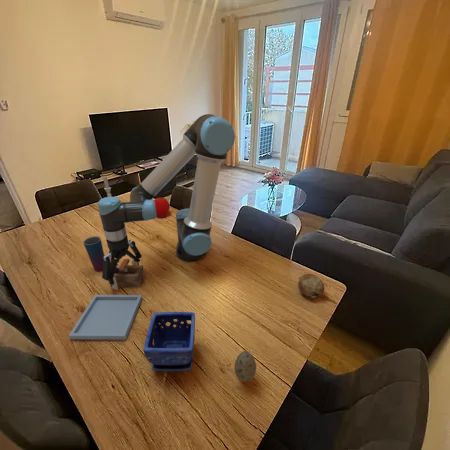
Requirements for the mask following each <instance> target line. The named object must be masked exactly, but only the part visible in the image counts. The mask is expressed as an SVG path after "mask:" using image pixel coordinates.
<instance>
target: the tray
mask: <svg viewBox="0 0 450 450" xmlns="http://www.w3.org/2000/svg"><path fill="white" fill-rule="evenodd" d="M142 302H143V295H141V294H94V295H93V297H92V298H91V300H90V302H89V303H88V305H87V306H86V308H85V309H84V311H83V313H82V314H81V315H80V317H79V318H78V320H77V321H76V324H75V325H74V327H73V328H72V329H71V331H70V333H69V334H68V337H69V340H70V341H126V340H127V338H128V336H129V333H130V331H131V329H132V326H133V323H134V321H135V319H136V317H137V314H138V311H139V309H140V306H141V304H142Z"/></svg>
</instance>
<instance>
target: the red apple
mask: <svg viewBox="0 0 450 450" xmlns="http://www.w3.org/2000/svg"><path fill="white" fill-rule="evenodd" d="M153 200H154V201H155V207H156V215H157V217H158V218H166V217H167V216H168V215H169V211H170V208H171V207H170V202H169V201H168V199H167V198H166V197H157V198H154V199H153ZM157 217H156V218H157Z"/></svg>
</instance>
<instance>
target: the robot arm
mask: <svg viewBox="0 0 450 450" xmlns="http://www.w3.org/2000/svg"><path fill="white" fill-rule="evenodd" d="M182 134H183V135H182V139H181V140H180V141H179V142H178V143H177V145H175V147H174V148H172V150H170V152H169V153H168V154H167V155H166V156H165V157H164V159H162V160H161V161H160V162H159V164H157V165H156V167H155V168H154V169H153V170H152V171H151V172H150V173H149V174H148V175H147V176H146V177H145V179H144V180H143V181H142V182H141V183H140V184H139V185H138V186H135V187H133V188H132V190H131V191H130V194H129V201H124V202H122V201H121V198H119V197H117V196H112V197H108V196H107V197H105V196H104V197H103V198H101V199H99V201H97V208H98V214H99V218H100V222H101V224H102V225H101V226H102V228H103V233H104V236H105V241H106V244H107V248H108V250H109V252H108V254H106V255H105V254H104V255H103V256H102V258H103V271H102V277H101V278H102V279H104V280H105V281H108V283H109V285H110V284H111V285H112V287H111V289H113V290H115V291H118V290H119V287H118V285H117V282H116V278H115V277H114V274H115V270H116V267H117V265H118V264H119V262H120V260H121V259H122V258H123V257H126V255H127V256H128V257H129V258H131V259H132V260H131V265H140V261H141V259H142V257H143V255H142V253H141V252H140V251H139V249H138V247H137V246H136V241H134V240H132V239H129V238H128V234H127V233H128V232H127V228H126V224H127V223H134V222H144V221H146V222H147V221H151V220H155V219H157V215H156V207H155V201H154V200H155V197H156V195H158V194H159V192H161V190H162V189H163V188H164V187H165V186H166V185H167V184H168V183H169V182H170V181H171V180H172V179H173V178H174V177H175V176H176V175H177V174H178V173H179V172H180V171H181V170H182V169H183V167H184V166H185V165H187V164H188V163H189V162H190V160H191V159H193V157H194V156H197V163H196V169H195V175H194V180H193V181H194V182H193V187H192V194H191V198H190V205H189V207H188V208H183V209H179V210H178V211H176V213H175V221H176V229H177V230H176V231H177V245H176V247H175V253H176V257H177V258H178V259H179V260H182V261H186V262H193V261H199V260H200V259H203V258H204V257H205V256H206V255H207V252H208V251H209V250H210V248H211V247H212V244H213V243H212V242H213V241H212V237H211V230H212V226H213V223H212V222H211V220H210V217H211V212H212V207H213V204H214V199H215V194H216V189H217V184H218V178H219V176H220V175H219V174H220V170H221V166H222V165H221V164H223V162H225V161H226V160H227V157H228V152H229V151H230V150H231V149H232V148H233V146H234V143H235V142H236V141H235V139H236V138H235V137H236V134H235V129H234V128H233V126H232V124H231V123H230V122H229V120H227V119H225V118H224V117H221V116H219V115H218V116H217V115H215V114H210V113H206V114H203V115H200V116H199V117H198V118H196V120H194V122H193V123H192V124H191V125H190V126H189V128H188V129H187V130H186V131H185V132H184V133H182ZM185 167H186V166H185ZM129 248H130V249H131V251H132V252H133V253H132V252H131V251H130V250H129Z"/></svg>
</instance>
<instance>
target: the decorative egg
mask: <svg viewBox="0 0 450 450" xmlns="http://www.w3.org/2000/svg"><path fill="white" fill-rule="evenodd" d="M256 371H257V363H256V360H255V357H254V356H253V354H252V353H251V352H249V351H248V350H244V351H241V352H240V353H239V354H238V355H237V357H236V359H235V363H234V373H235V375H236V377H237V379H238V380H240V381H242V382H249V381H251V380H252V379H254V377H255V375H256Z"/></svg>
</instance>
